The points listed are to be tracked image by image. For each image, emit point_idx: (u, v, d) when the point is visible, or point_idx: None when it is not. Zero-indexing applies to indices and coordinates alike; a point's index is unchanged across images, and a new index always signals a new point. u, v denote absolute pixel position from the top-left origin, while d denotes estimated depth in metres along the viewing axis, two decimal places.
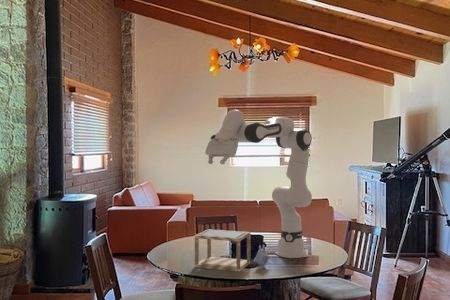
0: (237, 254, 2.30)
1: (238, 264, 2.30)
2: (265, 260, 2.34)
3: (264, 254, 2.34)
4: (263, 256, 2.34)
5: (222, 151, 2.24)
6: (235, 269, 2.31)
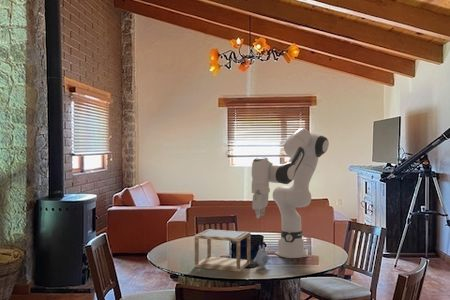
0: (237, 254, 2.30)
1: (238, 264, 2.30)
2: (265, 260, 2.34)
3: (264, 254, 2.34)
4: (263, 256, 2.34)
5: None
6: (235, 269, 2.31)
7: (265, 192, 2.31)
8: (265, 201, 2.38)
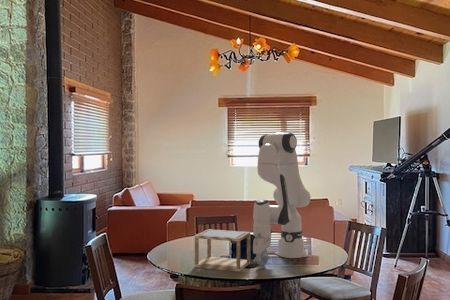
0: (237, 254, 2.30)
1: (238, 264, 2.30)
2: (265, 260, 2.34)
3: (264, 254, 2.34)
4: (263, 256, 2.34)
5: None
6: (235, 269, 2.31)
7: (266, 235, 2.32)
8: (267, 243, 2.39)
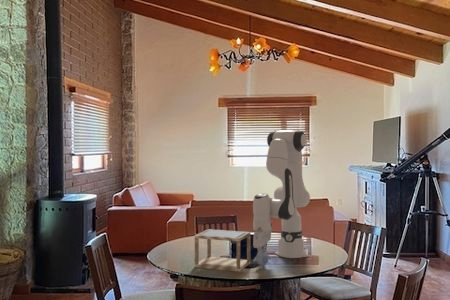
0: (237, 254, 2.30)
1: (238, 264, 2.30)
2: (265, 260, 2.34)
3: (264, 254, 2.34)
4: (263, 256, 2.34)
5: None
6: (235, 269, 2.31)
7: (266, 229, 2.33)
8: (267, 236, 2.40)
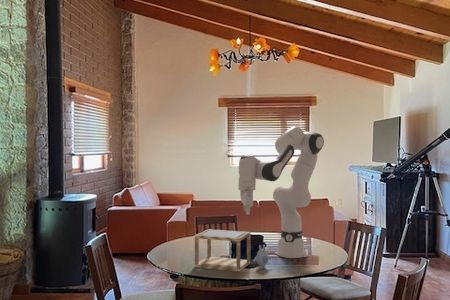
0: (237, 254, 2.30)
1: (238, 264, 2.30)
2: (265, 260, 2.34)
3: (264, 254, 2.34)
4: (263, 256, 2.34)
5: (244, 202, 2.34)
6: (235, 269, 2.31)
7: (254, 189, 2.36)
8: None
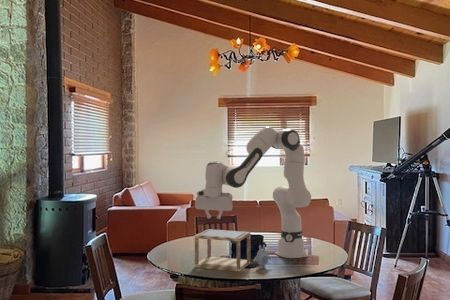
0: (237, 254, 2.30)
1: (238, 264, 2.30)
2: (265, 260, 2.34)
3: (264, 254, 2.34)
4: (263, 256, 2.34)
5: (219, 208, 2.41)
6: (235, 269, 2.31)
7: None
8: None
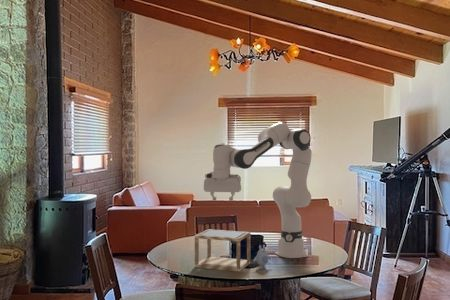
0: (237, 254, 2.30)
1: (238, 264, 2.30)
2: (265, 260, 2.34)
3: (264, 254, 2.34)
4: (263, 256, 2.34)
5: (228, 190, 2.42)
6: (235, 269, 2.31)
7: None
8: None
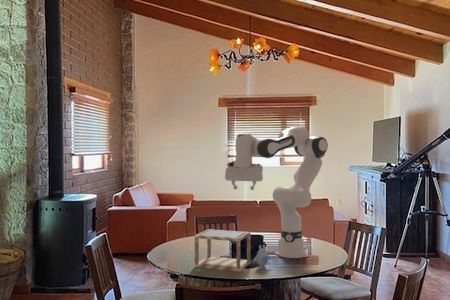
0: (237, 254, 2.30)
1: (238, 264, 2.30)
2: (265, 260, 2.34)
3: (264, 254, 2.34)
4: (263, 256, 2.34)
5: (249, 179, 2.43)
6: (235, 269, 2.31)
7: None
8: None
